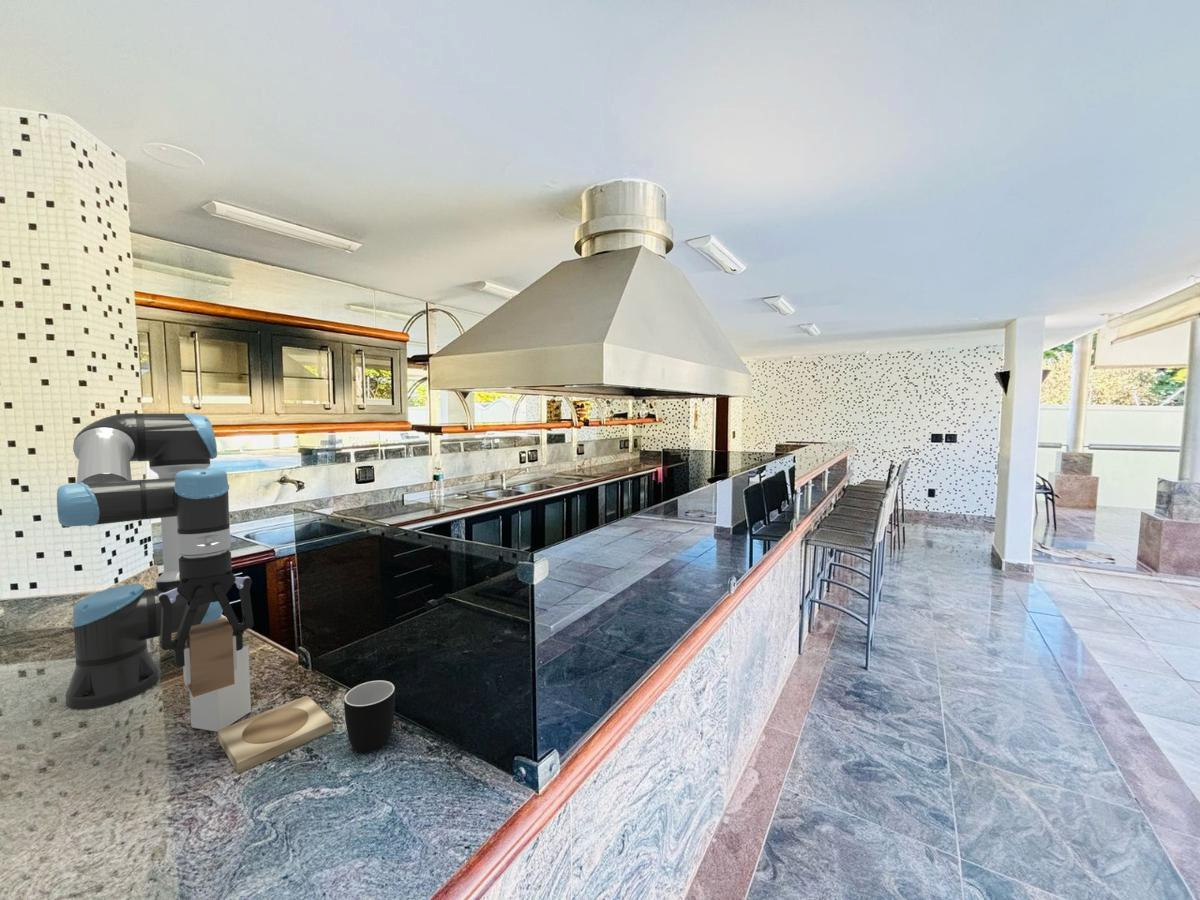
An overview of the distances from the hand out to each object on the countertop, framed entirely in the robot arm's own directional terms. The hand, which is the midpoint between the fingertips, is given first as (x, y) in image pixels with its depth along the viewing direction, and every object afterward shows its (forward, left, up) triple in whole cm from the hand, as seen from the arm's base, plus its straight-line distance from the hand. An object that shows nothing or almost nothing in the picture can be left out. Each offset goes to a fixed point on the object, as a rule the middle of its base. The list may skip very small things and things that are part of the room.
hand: (210, 674), depth 90 cm
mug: (+18, +20, -16) cm, 31 cm away
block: (0, 0, -2) cm, 2 cm away
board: (+3, +9, -15) cm, 18 cm away
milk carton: (-11, +4, -16) cm, 20 cm away
